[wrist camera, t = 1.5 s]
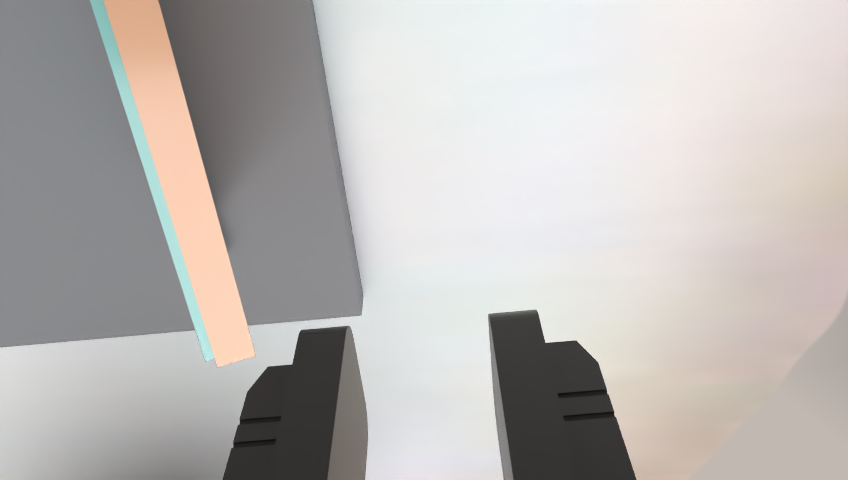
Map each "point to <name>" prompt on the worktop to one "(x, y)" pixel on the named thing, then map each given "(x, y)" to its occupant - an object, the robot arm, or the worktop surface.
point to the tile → (175, 172)
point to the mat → (128, 186)
